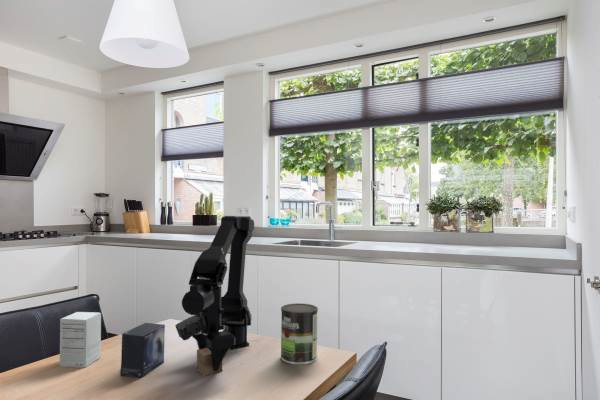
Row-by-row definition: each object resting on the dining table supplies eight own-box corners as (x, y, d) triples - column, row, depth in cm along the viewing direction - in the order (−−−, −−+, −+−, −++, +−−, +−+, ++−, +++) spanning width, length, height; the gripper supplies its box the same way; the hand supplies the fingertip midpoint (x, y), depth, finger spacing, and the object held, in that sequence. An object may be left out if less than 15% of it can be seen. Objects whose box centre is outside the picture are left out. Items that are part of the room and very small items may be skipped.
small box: (143, 378, 100) (143, 335, 100) (119, 376, 101) (120, 333, 101) (165, 362, 110) (166, 323, 110) (143, 360, 111) (144, 322, 112)
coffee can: (300, 368, 106) (300, 314, 107) (273, 358, 113) (273, 307, 114) (325, 357, 114) (325, 307, 114) (298, 349, 121) (298, 301, 121)
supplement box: (76, 356, 114) (76, 311, 114) (101, 357, 113) (102, 312, 113) (58, 367, 106) (59, 318, 107) (85, 368, 106) (86, 319, 106)
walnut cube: (214, 365, 109) (214, 346, 109) (222, 371, 104) (222, 351, 105) (196, 369, 106) (196, 349, 106) (203, 375, 102) (204, 355, 102)
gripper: (168, 302, 109) (167, 360, 108) (192, 317, 93) (191, 386, 93) (207, 297, 115) (207, 352, 115) (236, 311, 100) (236, 375, 99)
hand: (209, 365), depth 105 cm, fingers open, 8 cm apart
